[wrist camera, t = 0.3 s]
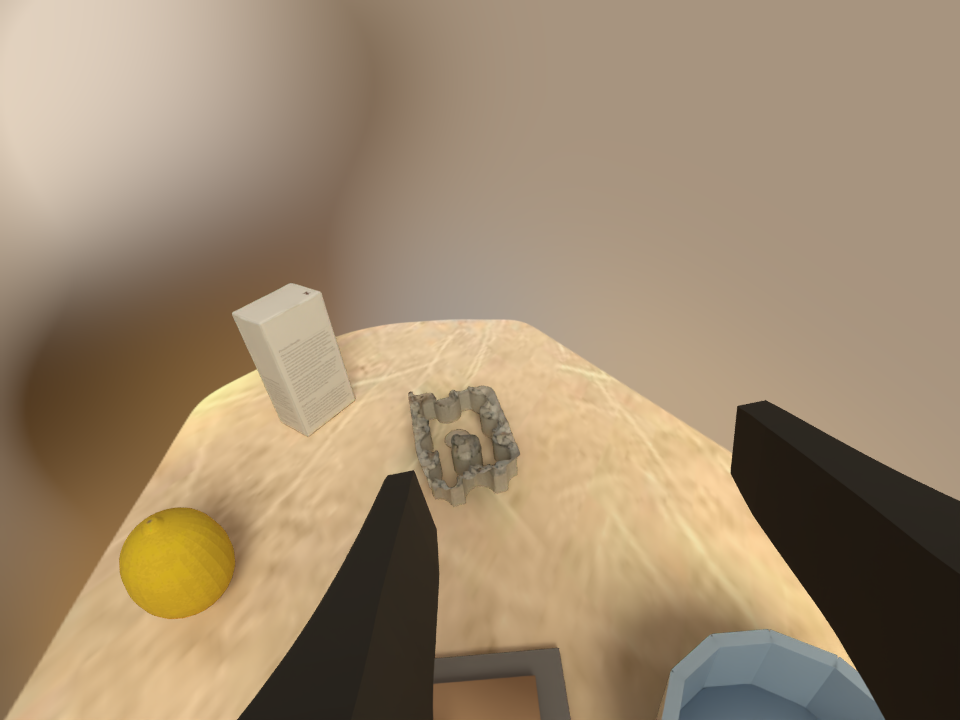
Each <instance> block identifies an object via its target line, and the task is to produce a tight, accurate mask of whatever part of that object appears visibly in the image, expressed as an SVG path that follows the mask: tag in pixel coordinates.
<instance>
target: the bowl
mask: <svg viewBox="0 0 960 720" xmlns="http://www.w3.org/2000/svg"><path fill="white" fill-rule="evenodd" d="M656 720H885V718H884V717H883V715H882V713H881V711H880V710H879V708H878V706H877V704H876V702H875V701H874V699H873V697H872V695H871V693H870V692H869V690H868V688H867V686H866V684H865V683H864V681H863V679H862V678H861V676H860V674H859V673H858V672H857V671H856V670H855V669H854V668H853V667H851V666H850V665H849V664H848V663H847V662H845V661H844V660H843V659H842V658H840V657H839V658H838V657H837V655H835V654H832V653H830V652H827V651H825V650H822V649H820V648H817V647H814V646H812V645H809V644H807V643H804V642H801V641H799V640H796V639H794V638H791V637H788V636H786V635H783V634H781V633H778V632H775V631H773V630H768V629H763V630H751V631H739V632H728V633H716V634H711V635H709V636H708V637H707V638H706V639H705V640H703V641H702V642H701V643H700V644H699V645H698V646H697V647H696V648H695V649H694V650H692V651H691V652H690V653H689V654H688V655H687V656H686V657H685V658H684V659H683V660H681V661H680V662H679V663H678V664H677V665H676V666H675V667H674V668H673V669H672V670H671V672H670V675H669V678H668V682H667V685H666V688H665V691H664V695H663V698H662V701H661V705H660V708H659V711H658V714H657V719H656Z"/></svg>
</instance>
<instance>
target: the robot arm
mask: <svg viewBox="0 0 960 720" xmlns="http://www.w3.org/2000/svg"><path fill="white" fill-rule="evenodd" d="M731 475H732V477H733V479H734V481H735V483H736V485H737V487H738V489H739V491H740V493H741V494H742V496H743V498H744V500H745V502H746V504H747V505H748V507H749V509H750V511H751V513H752V514H753V516H754V517H755V519H756V520H757V522H758V523H759V525H760V526H761V528H762V529H763V530H764V532H765V533H766V535H767V536H768V538H769V539H770V540H771V542H772V543H773V545H774V546H775V548H776V549H777V550H778V552H779V553H780V555H781V556H782V557H783V559H784V560H785V562H786V563H787V564H788V566H789V567H790V569H791V570H792V571H793V573H794V574H795V576H796V577H797V578H798V580H799V581H800V583H801V584H802V586H803V587H804V588H805V590H806V591H807V593H808V594H809V595H810V597H811V598H812V600H813V601H814V602H815V604H816V605H817V607H818V608H819V609H820V611H821V612H822V614H823V615H824V617H825V618H826V620H827V621H828V623H829V624H830V626H831V627H832V629H833V630H834V632H835V633H836V635H837V637H838V638H839V640H840V642H841V643H842V645H843V647H844V649H845V650H846V652H847V654H848V655H849V657H850V659H851V661H852V662H853V664H854V666H855V667H856V669H857V671H858V673H859V674H860V676H861V678H862V679H863V681H864V683H865V684H866V686H867V688H868V690H869V692H870V693H871V695H872V697H873V699H874V701H875V702H876V704H877V706H878V708H879V710H880V711H881V713H882V715H883V717H884V718H885V720H960V501H958V500H956V499H954V498H952V497H950V496H947V495H945V494H943V493H941V492H939V491H937V490H935V489H933V488H931V487H929V486H927V485H925V484H922V483H920V482H918V481H916V480H914V479H912V478H910V477H908V476H906V475H904V474H902V473H900V472H898V471H896V470H894V469H892V468H890V467H888V466H886V465H884V464H882V463H880V462H878V461H876V460H875V459H872V458H871V457H869V456H867V455H865V454H863V453H861V452H859V451H858V450H856V449H854V448H852V447H850V446H848V445H846V444H845V443H843V442H841V441H839V440H837V439H835V438H834V437H832V436H830V435H828V434H826V433H825V432H823V431H821V430H819V429H817V428H816V427H814V426H812V425H810V424H808V423H806V422H805V421H803V420H801V419H799V418H798V417H796V416H794V415H792V414H790V413H789V412H787V411H785V410H783V409H781V408H779V407H778V406H776V405H774V404H772V403H770V402H768V401H766V400H765V401H760V402H756V403H750V404H746V405H740V406H737V415H736V424H735V434H734V444H733V454H732V463H731ZM438 589H439V560H438V543H437V529H436V527H435V524H434V521H433V519H432V516H431V513H430V511H429V508H428V506H427V503H426V500H425V498H424V495H423V493H422V490H421V487H420V485H419V482H418V479H417V477H416V474H415V472H414V470H413V471H408V472H403V473H398V474H393V475H388V476H387V477H386V479H385V480H384V482H383V484H382V486H381V489H380V491H379V493H378V495H377V497H376V499H375V501H374V504H373V506H372V508H371V510H370V512H369V514H368V516H367V518H366V520H365V522H364V524H363V526H362V528H361V530H360V532H359V534H358V536H357V538H356V540H355V542H354V544H353V546H352V547H351V549H350V551H349V553H348V555H347V557H346V559H345V561H344V563H343V564H342V566H341V568H340V570H339V571H338V573H337V575H336V577H335V578H334V580H333V582H332V583H331V585H330V587H329V588H328V590H327V592H326V594H325V595H324V597H323V599H322V600H321V602H320V604H319V605H318V607H317V609H316V610H315V612H314V613H313V615H312V617H311V618H310V620H309V621H308V623H307V624H306V626H305V627H304V629H303V630H302V632H301V634H300V635H299V636H298V638H297V639H296V641H295V642H294V644H293V645H292V647H291V648H290V650H289V651H288V653H287V654H286V655H285V657H284V658H283V660H282V661H281V662H280V664H279V665H278V667H277V668H276V669H275V671H274V672H273V673H272V675H271V676H270V677H269V679H268V680H267V681H266V683H265V684H264V685H263V687H262V688H261V690H260V691H259V692H258V694H257V695H256V696H255V698H254V699H253V700H252V701H251V703H250V704H249V705H248V707H247V708H246V709H245V710H244V712H243V713H242V714H241V715H240V717H239V718H238V719H237V720H433V680H434V662H435V644H436V626H437V609H438Z"/></svg>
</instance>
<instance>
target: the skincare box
mask: <svg viewBox="0 0 960 720" xmlns="http://www.w3.org/2000/svg"><path fill="white" fill-rule="evenodd" d="M232 315H233V317H234V320H235V322H236V324H237V326H238V329H239V331H240V333H241V335H242V337H243V339H244V342H245V344H246V346H247V348H248V350H249V352H250V355H251V357H252V359H253V361H254V363H255V366H256V368H257V370H258V372H259V375H260V377H261V379H262V381H263V383H264V385H265V388H266V390H267V392H268V394H269V396H270V399H271V401H272V403H273V405H274V407H275V409H276V412H277V414H278V416H279V418H280V420H281V422H282V423H284V424H285V425H287V426H289V427H291V428H293V429H295V430H297V431H298V432H300V433H302V434H304V435H305V436H307V437H308V436H310V435H311V434H312V433H314V432H315V431H316V430H317V429H319V428H320V427H321V426H323V425H324V424H325V423H326V422H328V421H329V420H330V419H332V418H333V417H334V416H335V415H337V414H338V413H339V412H341V411H342V410H343V409H344V408H346V407H347V406H348V405H350V404H351V403H352V402H354V401H355V397H354V393H353V390H352V387H351V384H350V381H349V378H348V375H347V372H346V369H345V366H344V362H343V359H342V356H341V353H340V350H339V347H338V344H337V341H336V338H335V334H334V331H333V328H332V325H331V322H330V319H329V316H328V313H327V310H326V307H325V303H324V300H323V297H322V294H321V292H319V291H316V290H312V289H309V288H306V287H303V286H300V285H296V284H292V283H290V284H288V285H286V286H284V287H282V288H280V289H278V290H277V291H274V292H273V293H271V294H269V295H266V296H264V297H262V298H261V299H258V300H256V301H254V302H253V303H251V304H249V305H246V306H245V307H243V308H241V309H239V310H237V311H235V312H233V313H232Z"/></svg>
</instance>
